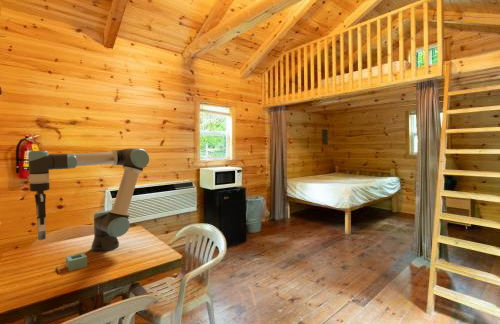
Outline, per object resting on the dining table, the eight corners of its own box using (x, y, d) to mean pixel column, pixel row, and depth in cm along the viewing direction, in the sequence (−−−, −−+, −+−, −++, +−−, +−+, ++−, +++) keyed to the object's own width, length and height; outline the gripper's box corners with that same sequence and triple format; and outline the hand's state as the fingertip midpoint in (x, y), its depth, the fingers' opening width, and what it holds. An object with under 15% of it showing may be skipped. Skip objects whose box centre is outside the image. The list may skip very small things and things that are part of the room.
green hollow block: (66, 265, 139) (65, 256, 138) (83, 261, 144) (83, 252, 144) (69, 270, 133) (69, 261, 133) (87, 266, 139) (87, 256, 138)
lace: (55, 268, 135) (55, 266, 135) (58, 268, 136) (58, 266, 136) (58, 273, 130) (58, 271, 130) (60, 273, 130) (60, 271, 130)
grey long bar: (37, 238, 128) (36, 203, 127) (45, 237, 130) (43, 202, 129) (38, 240, 126) (36, 204, 125) (46, 238, 128) (44, 203, 127)
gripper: (27, 181, 130) (30, 228, 131) (31, 184, 119) (33, 235, 120) (46, 180, 135) (48, 225, 136) (51, 183, 124) (53, 232, 125)
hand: (41, 230), depth 128 cm, fingers closed on grey long bar, 3 cm apart
